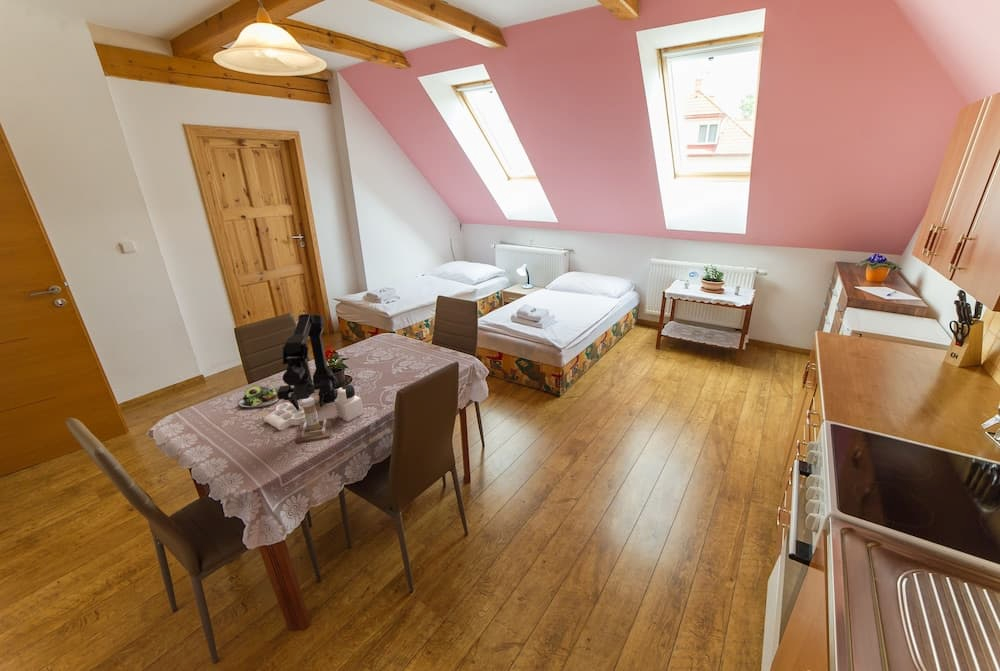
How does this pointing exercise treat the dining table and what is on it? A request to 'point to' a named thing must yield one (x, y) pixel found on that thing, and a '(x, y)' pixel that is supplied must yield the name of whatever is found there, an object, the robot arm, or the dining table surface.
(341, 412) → the container
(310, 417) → the sprinkles bottle
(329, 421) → the brown flat square frame
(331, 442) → the dining table surface
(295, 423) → the white compartment tray
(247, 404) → the salad plate
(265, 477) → the dining table surface
